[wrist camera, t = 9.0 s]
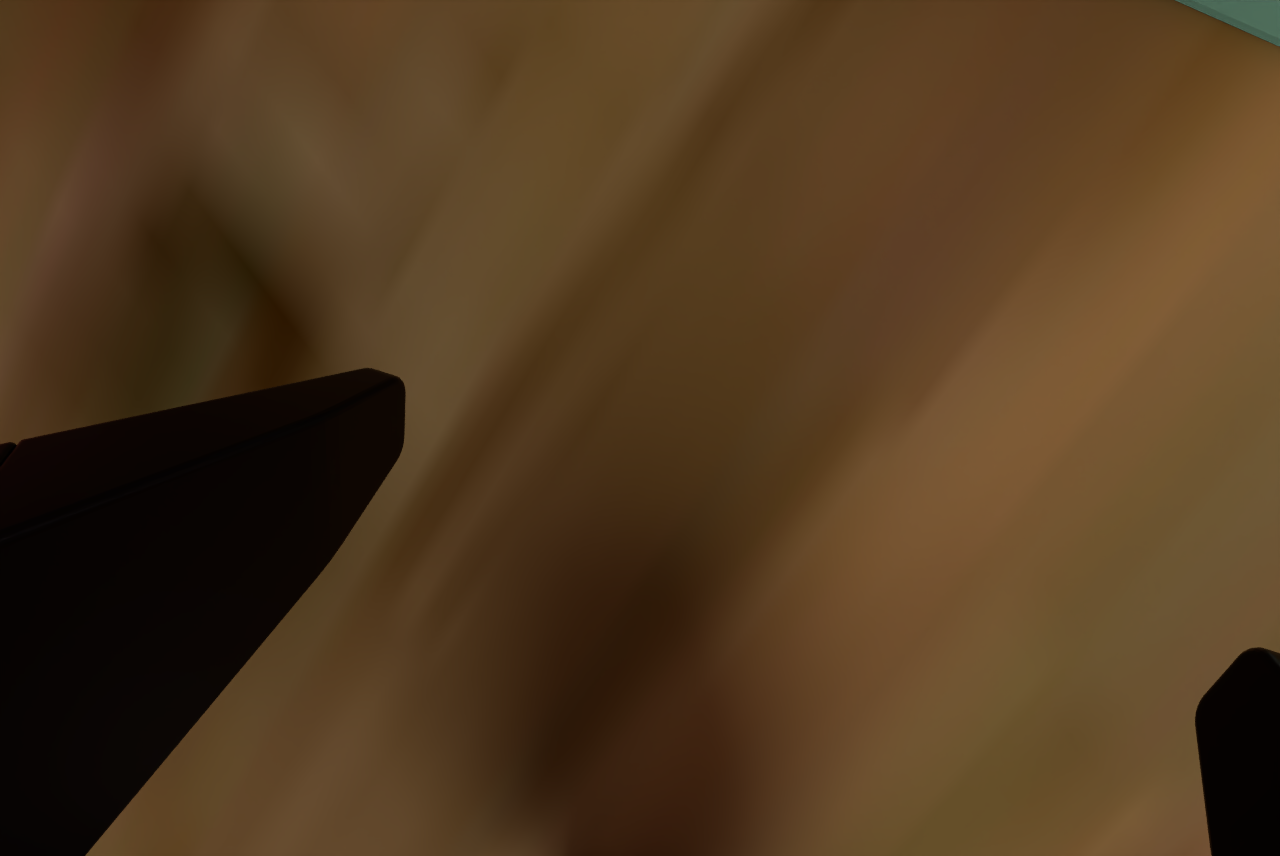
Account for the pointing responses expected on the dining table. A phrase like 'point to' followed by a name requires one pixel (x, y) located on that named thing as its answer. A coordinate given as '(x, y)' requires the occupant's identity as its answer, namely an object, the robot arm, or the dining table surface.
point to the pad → (1244, 15)
